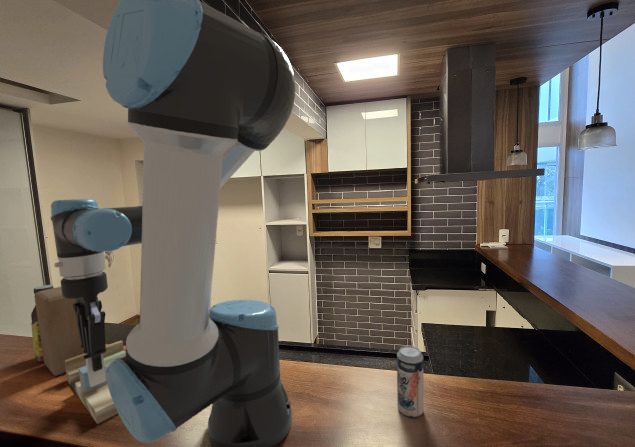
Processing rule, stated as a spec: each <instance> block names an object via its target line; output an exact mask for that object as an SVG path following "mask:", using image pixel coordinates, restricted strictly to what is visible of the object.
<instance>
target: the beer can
mask: <svg viewBox="0 0 635 447" xmlns="http://www.w3.org/2000/svg"><path fill="white" fill-rule="evenodd" d="M396 380H397V381H396V386H397V388H396V391H397V393H396V394H397V396H396V398H397V400H396V401H397V409H398V411H399V412H401V414H402V415H404V416H407V417H411V416H412V417H413V418H415V417H419V416H421V415H423V412H424V356H423V354H422V352H421V350H420V349H419V348H418V347H415V346H410V345H405V346H401V347H400V349H398V351H397V353H396Z"/></svg>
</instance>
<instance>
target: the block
mask: <svg viewBox="0 0 635 447" xmlns="http://www.w3.org/2000/svg"><path fill="white" fill-rule="evenodd" d="M33 298H34V302H35V305H36V311H37V318H38V325H39V331H40V338H41V345H42V352H43V359H44V361H43V363H44V366H46V367H47V368H48V370H49V371H50V372H51V373H52V374H53V376H59V375H62V374H64V373H65V374H66V368H65V361H64V360H67V359H70V358H73V357H75V356H78V355H81V354H84V348H83V349H82V348H81V342H80V336H79V331H78V326H77V321H76V315H75V311H74V308H73V303H77V302H76V298H74V299H69V298H65V297H63V296H62V289H61V286H58V287H53V288H52V289H48V290H43V291H39V292H37V293H35V294H34V297H33Z"/></svg>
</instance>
